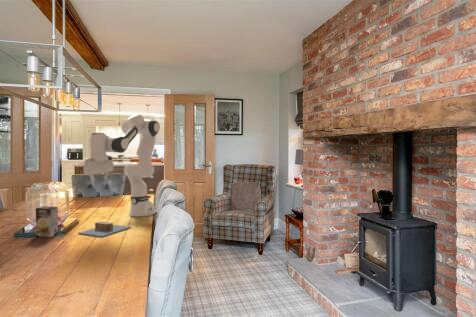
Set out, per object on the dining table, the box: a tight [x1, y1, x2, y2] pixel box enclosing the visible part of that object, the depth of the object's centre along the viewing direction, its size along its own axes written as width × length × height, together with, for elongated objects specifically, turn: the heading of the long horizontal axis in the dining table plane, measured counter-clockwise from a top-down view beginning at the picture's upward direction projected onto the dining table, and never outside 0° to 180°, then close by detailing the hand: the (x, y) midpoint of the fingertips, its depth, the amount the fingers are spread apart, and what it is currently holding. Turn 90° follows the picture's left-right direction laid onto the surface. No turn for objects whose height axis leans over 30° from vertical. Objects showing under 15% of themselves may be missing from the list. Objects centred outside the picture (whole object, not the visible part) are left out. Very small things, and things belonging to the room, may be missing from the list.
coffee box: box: [35, 206, 59, 238], centre depth 172 cm, size 9×6×16 cm
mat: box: [78, 224, 131, 238], centre depth 182 cm, size 22×18×1 cm
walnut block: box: [94, 221, 114, 231], centre depth 182 cm, size 4×4×10 cm
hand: (99, 180), depth 189 cm, fingers open, 8 cm apart
